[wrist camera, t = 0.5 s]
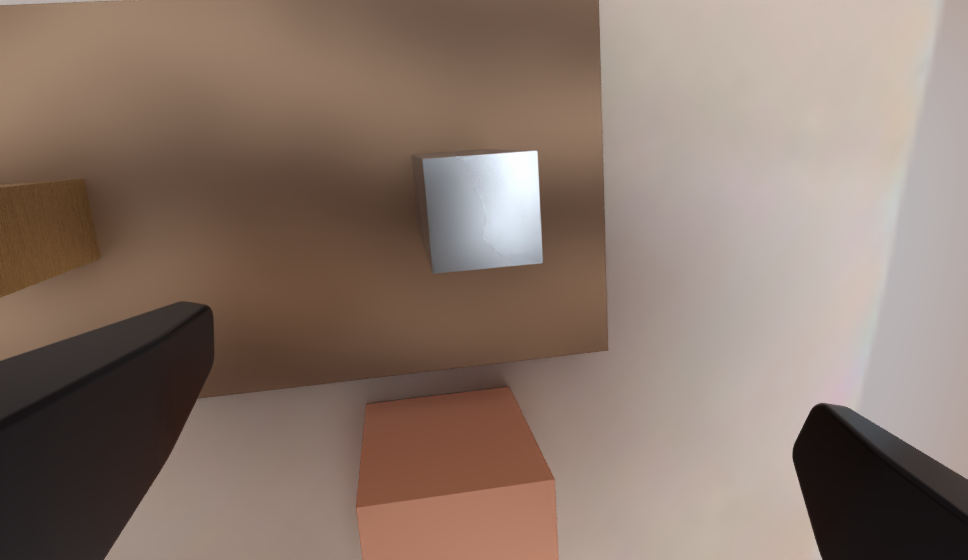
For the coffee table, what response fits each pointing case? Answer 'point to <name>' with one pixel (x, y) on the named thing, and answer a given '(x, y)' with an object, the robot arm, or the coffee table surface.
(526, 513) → the salmon orange block
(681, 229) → the coffee table surface
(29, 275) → the brass post
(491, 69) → the board
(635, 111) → the coffee table surface
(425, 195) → the steel post
